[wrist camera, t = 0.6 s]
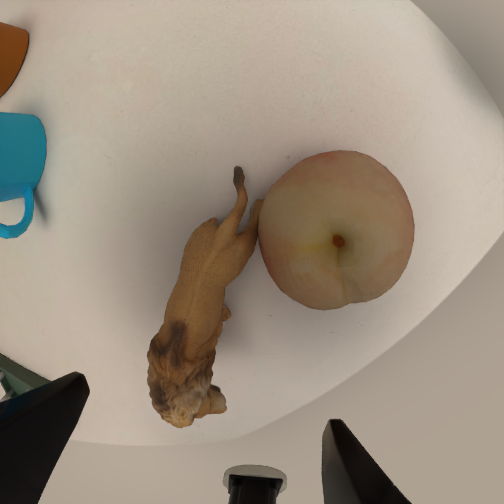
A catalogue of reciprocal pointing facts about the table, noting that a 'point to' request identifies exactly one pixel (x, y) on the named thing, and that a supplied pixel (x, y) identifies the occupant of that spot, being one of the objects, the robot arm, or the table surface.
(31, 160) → the mug
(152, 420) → the table surface
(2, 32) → the mug
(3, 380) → the drying rack
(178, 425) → the lion figurine
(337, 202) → the fruit
